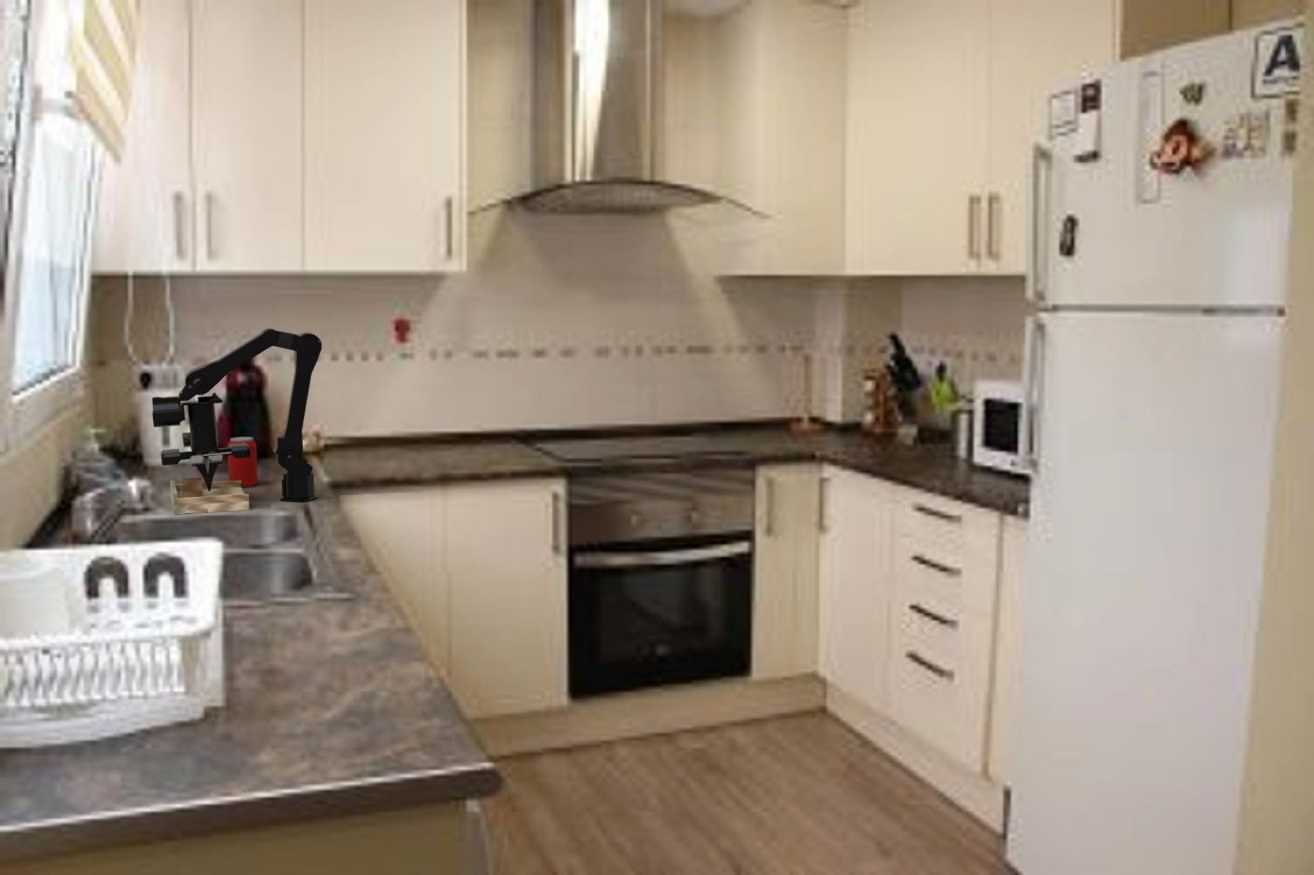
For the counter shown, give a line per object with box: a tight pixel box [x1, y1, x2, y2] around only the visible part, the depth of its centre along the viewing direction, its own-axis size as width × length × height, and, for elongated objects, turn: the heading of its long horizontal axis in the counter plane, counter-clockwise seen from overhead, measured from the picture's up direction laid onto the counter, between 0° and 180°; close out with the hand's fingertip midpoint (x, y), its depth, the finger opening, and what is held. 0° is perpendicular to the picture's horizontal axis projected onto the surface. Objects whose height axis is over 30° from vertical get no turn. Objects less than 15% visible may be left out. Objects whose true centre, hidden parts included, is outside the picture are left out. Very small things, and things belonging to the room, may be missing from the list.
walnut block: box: [181, 477, 203, 498], centre depth 256 cm, size 4×4×4 cm
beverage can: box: [227, 436, 258, 488], centre depth 281 cm, size 7×7×12 cm
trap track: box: [169, 480, 250, 515], centre depth 258 cm, size 16×19×4 cm
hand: (209, 490), depth 258 cm, fingers closed
